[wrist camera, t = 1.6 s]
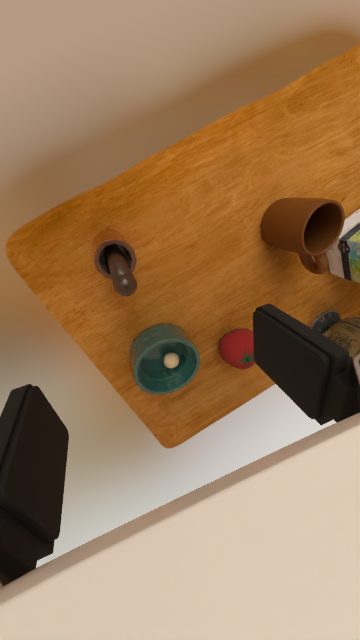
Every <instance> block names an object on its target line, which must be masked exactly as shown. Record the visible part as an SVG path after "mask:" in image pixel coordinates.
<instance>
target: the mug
mask: <svg viewBox="0 0 360 640" xmlns="http://www.w3.org/2000/svg"><path fill="white" fill-rule="evenodd" d="M344 220H345V215H344V210H343V208H342V206H341V205H340V204H339V203H338V202H337V201H334V200H327V199H317V198H284V199H280V200H278V201H276V202H274V203H273V204H272V205H271V206H270V207H269V208H268V209H267V211H266V212H265V214H264V217H263V219H262V224H261V232H262V235H263V238H264V240H265V241H266V242H267V243H269V244H270V245H272V246H275V247H279V248H282V249H285V250H289V251H292V252H296V253H298V254H299V257H300V260H301V262H302V264H303V265H304V267H305V268H306V269H307V270H309V271H310V272H312V273H314V274H322V273H324V272H325V271H326V270H327V269H328V266H329V261H328V258H327V256H326V254H325V252H327V251H328V250H329V249H330V248H331V247H332V246H333V245H334V244H335V243H336V241H337V240H338V238H339V237H340V234H341V232H342V230H343V226H344ZM311 256H313V257H314V259H315V261H316V262H315V261H314V260H313V259H312V257H311Z"/></svg>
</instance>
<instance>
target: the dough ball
mask: <svg viewBox="0 0 360 640" xmlns="http://www.w3.org/2000/svg"><path fill="white" fill-rule="evenodd" d="M163 363H164V365H165V366H166V367H168V368H175V367H176V366H177V365H178V363H179V357H178V355H177V354H176V353H174V352H169V353H167V354H165V356H164V358H163Z"/></svg>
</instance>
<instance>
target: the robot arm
mask: <svg viewBox="0 0 360 640" xmlns="http://www.w3.org/2000/svg"><path fill="white" fill-rule="evenodd" d="M253 345H254V360H255V362H256V364H257V365H258V366H259V367H260V368H261V369H262V370H263V371H264V372H265V373H266V374H267V375H268V376H269V377H270V378H271V379H272V380H273V381H274V382H275V383H276V384H277V385H278V386H279V387H280V388H281V389H282V390H283V391H284V392H285V393H286V394H287V395H288V396H289V397H290V398H291V399H292V400H293V402H295V404H296V405H297V406H298V407H300V408H301V410H302V411H303V412H304V413H305V414H306V415H307V416H308V417H310V418H311V419H315V420H316V421H317V422H318V423H319V424H320V425H323V424H325V423H327V422H329V421H331V420H333V419H334V420H335V421H336V422H337V423H335V424H333V425H331V426H329V427H326V428H324V429H322V430H320V431H318V432H316V433H314V434H312V435H310V436H307V437H305V438H303V439H301V440H299V441H297V442H295V443H292V444H290V445H288V446H286V447H284V448H282V449H280V450H278V451H276V452H273V453H271V454H269V455H267V456H265V457H263V458H261V459H259V460H257V461H254V462H252V463H250V464H248V465H246V466H244V467H242V468H240V469H238V470H236V471H234V472H232V473H229V474H227V475H225V476H223V477H221V478H219V479H217V480H215V481H213V482H211V483H209V484H207V485H204V486H202V487H201V488H198V489H196V490H194V491H192V492H190V493H188V494H186V495H184V496H182V497H180V498H177V499H175V500H173V501H171V502H169V503H167V504H165V505H163V506H161V507H159V508H157V509H155V510H153V511H151V512H149V513H147V514H145V515H143V516H141V517H139V518H136V519H135V520H132V521H130V522H128V523H126V524H124V525H122V526H120V527H118V528H116V529H114V530H112V531H110V532H108V533H106V534H103V535H102V536H99V537H97V538H95V539H93V540H91V541H89V542H87V543H85V544H83V545H81V546H79V547H77V548H75V549H73V550H71V551H69V552H67V553H66V554H64V555H62V556H60V557H58V558H56V559H54V560H52V561H50V562H48V563H46V564H44V565H42V566H40V567H38V568H36V563H37V560H39V559H41V558H43V557H45V556H48V555H50V554H52V553H53V547H54V540H55V539H57V538H58V536H59V533H60V525H61V514H62V504H63V493H64V482H65V472H66V461H67V450H68V440H69V434H68V430H67V428H66V427H65V425H64V424H63V422H62V421H61V420H60V418H59V416H58V415H57V413H56V412H55V411H54V409H53V408H52V406H51V405H50V403H49V402H48V400H47V399H46V397H45V396H44V394H43V393H42V391H41V390H40V388H39V387H38V386H34V387H33V386H32V385H31V384H28V385H25V386H22V387H20V388H16V389H14V390H12V391H11V392H10V395H9V397H8V400H7V402H6V404H5V407H4V409H3V412H2V414H1V417H0V640H360V353H359V354H357V355H356V356H355V357H354V358H352V357H350V356H349V353H350V351H348V350H346V349H345V348H343V347H341V346H340V345H338V344H336V343H335V342H333V341H331V340H330V339H328V338H326V337H325V336H323V335H321V334H320V333H318V332H316V331H315V330H313V329H311V328H310V327H308V326H306V325H305V324H303V323H301V322H300V321H298V320H296V319H295V318H293V317H291V316H290V315H288V314H286V313H285V312H283V311H281V310H280V309H278V308H276V307H275V306H273V305H271V304H266V305H263V306H260V307H257V308H256V311H255V312H254V313H253Z"/></svg>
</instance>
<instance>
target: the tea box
mask: <svg viewBox="0 0 360 640" xmlns="http://www.w3.org/2000/svg"><path fill="white" fill-rule="evenodd" d="M326 253H327V258H328V261H329V268H330V273H331V274H333V275H336V276H339V277H341V278H344V279H347V280H350V281H353V282H356V283H360V209H358V210H357V211H356V212H354V213H353V214H352V215H350V216H349V217H348V218H346V219H345V220H344V226H343V230H342V232H341V234H340V237H339V238H338V240H337V241H336V243H335V244H334V245H333V246H332V247H331V248H330V249H329V250H328V251H327V252H326Z"/></svg>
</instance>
